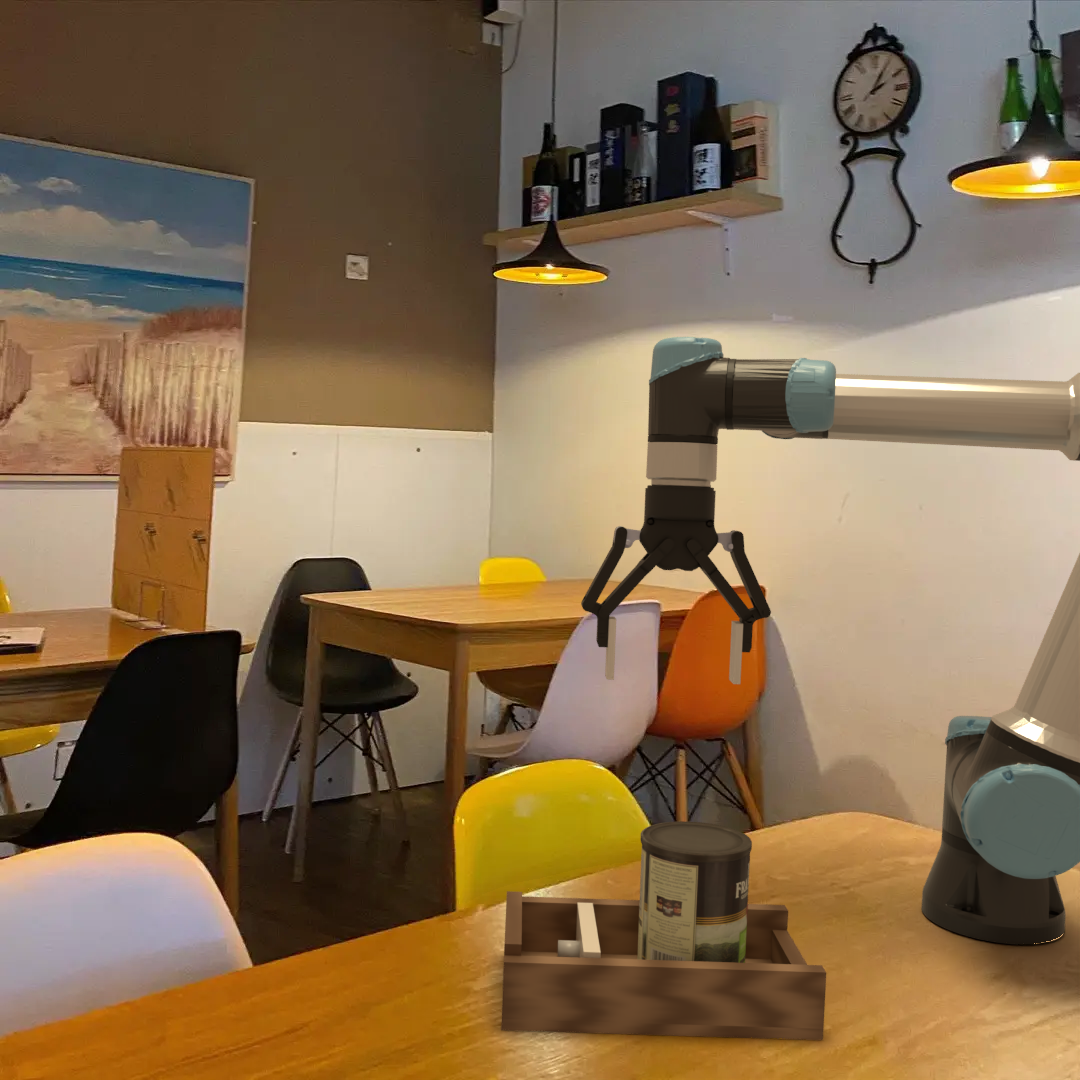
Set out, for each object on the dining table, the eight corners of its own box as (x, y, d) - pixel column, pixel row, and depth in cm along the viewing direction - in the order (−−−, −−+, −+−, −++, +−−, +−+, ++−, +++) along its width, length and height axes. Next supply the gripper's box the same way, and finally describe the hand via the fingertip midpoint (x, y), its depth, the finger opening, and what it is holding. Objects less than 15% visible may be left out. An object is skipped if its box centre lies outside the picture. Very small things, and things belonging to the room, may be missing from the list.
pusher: (590, 952, 113) (592, 903, 113) (598, 1008, 101) (600, 952, 101) (555, 951, 113) (557, 901, 113) (558, 1006, 101) (560, 951, 101)
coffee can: (744, 967, 112) (750, 825, 111) (745, 1015, 102) (753, 858, 101) (638, 956, 114) (644, 816, 113) (629, 1002, 103) (636, 848, 103)
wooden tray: (781, 963, 116) (785, 895, 115) (823, 1040, 100) (826, 961, 99) (504, 954, 115) (507, 886, 115) (501, 1030, 99) (504, 950, 99)
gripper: (788, 488, 127) (779, 678, 128) (563, 479, 127) (556, 670, 128) (804, 488, 120) (794, 690, 121) (566, 479, 119) (558, 681, 120)
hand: (672, 680), depth 124 cm, fingers open, 13 cm apart
